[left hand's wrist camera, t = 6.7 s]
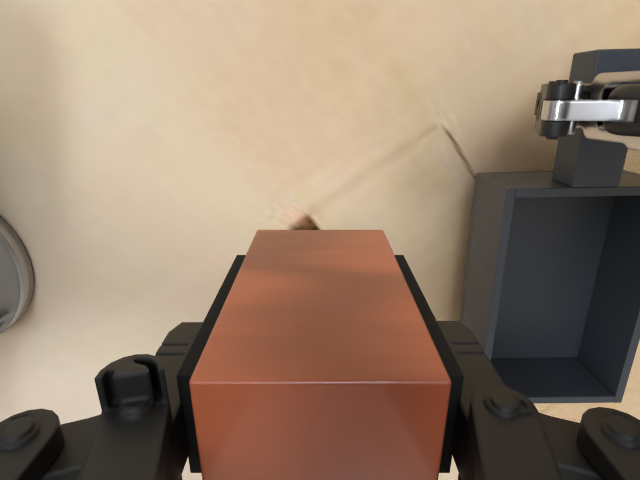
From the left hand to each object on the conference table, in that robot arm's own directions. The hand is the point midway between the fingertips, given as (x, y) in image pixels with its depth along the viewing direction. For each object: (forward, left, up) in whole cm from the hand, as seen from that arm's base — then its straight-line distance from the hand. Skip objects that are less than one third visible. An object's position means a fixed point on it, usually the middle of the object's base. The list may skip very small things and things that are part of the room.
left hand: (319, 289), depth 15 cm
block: (0, 0, 0) cm, 0 cm away
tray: (+18, -4, -18) cm, 25 cm away
